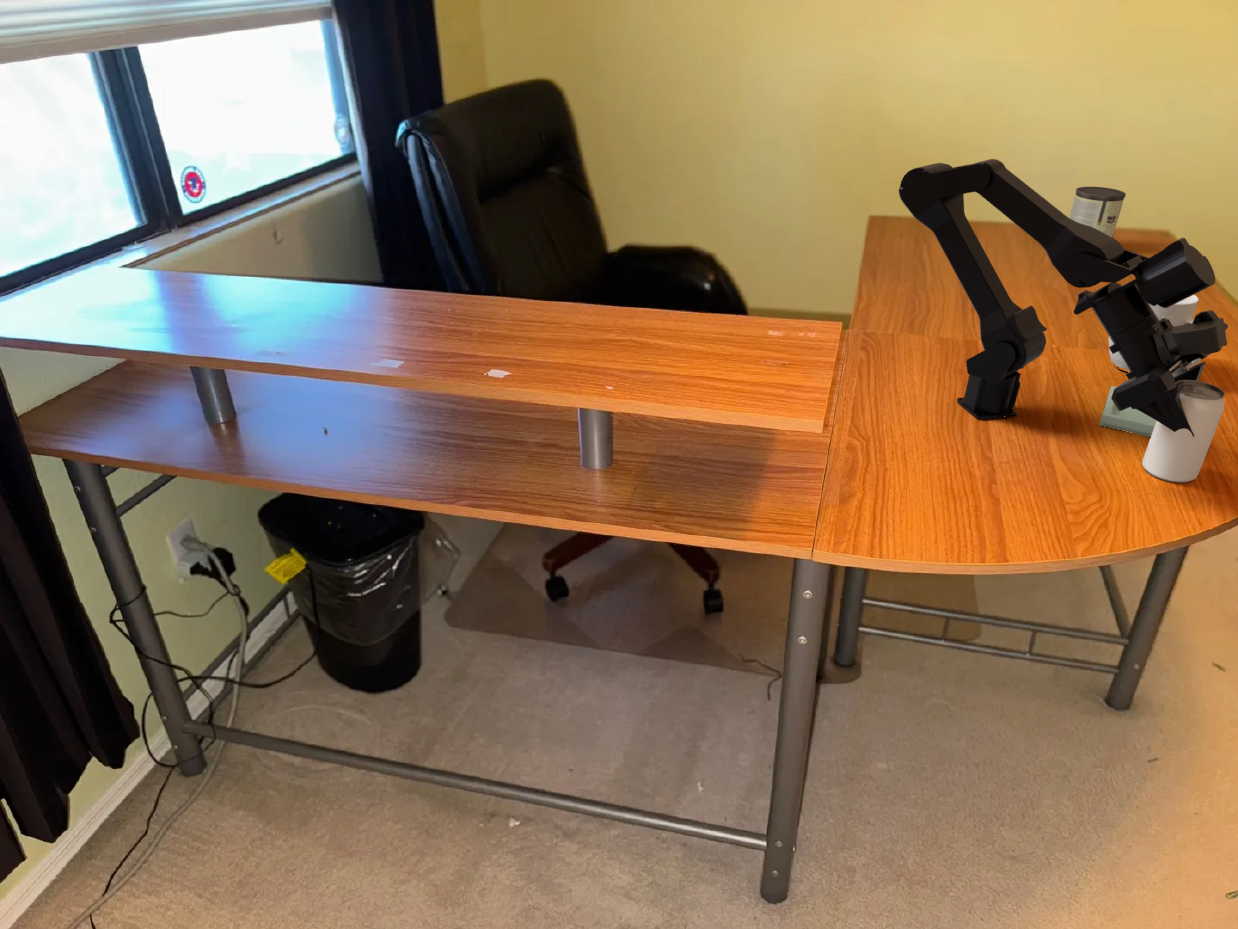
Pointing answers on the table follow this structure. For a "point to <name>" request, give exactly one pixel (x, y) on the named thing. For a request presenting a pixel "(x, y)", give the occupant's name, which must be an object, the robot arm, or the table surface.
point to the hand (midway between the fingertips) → (1197, 430)
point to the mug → (1177, 317)
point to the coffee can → (1097, 208)
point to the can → (1186, 435)
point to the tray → (1126, 418)
